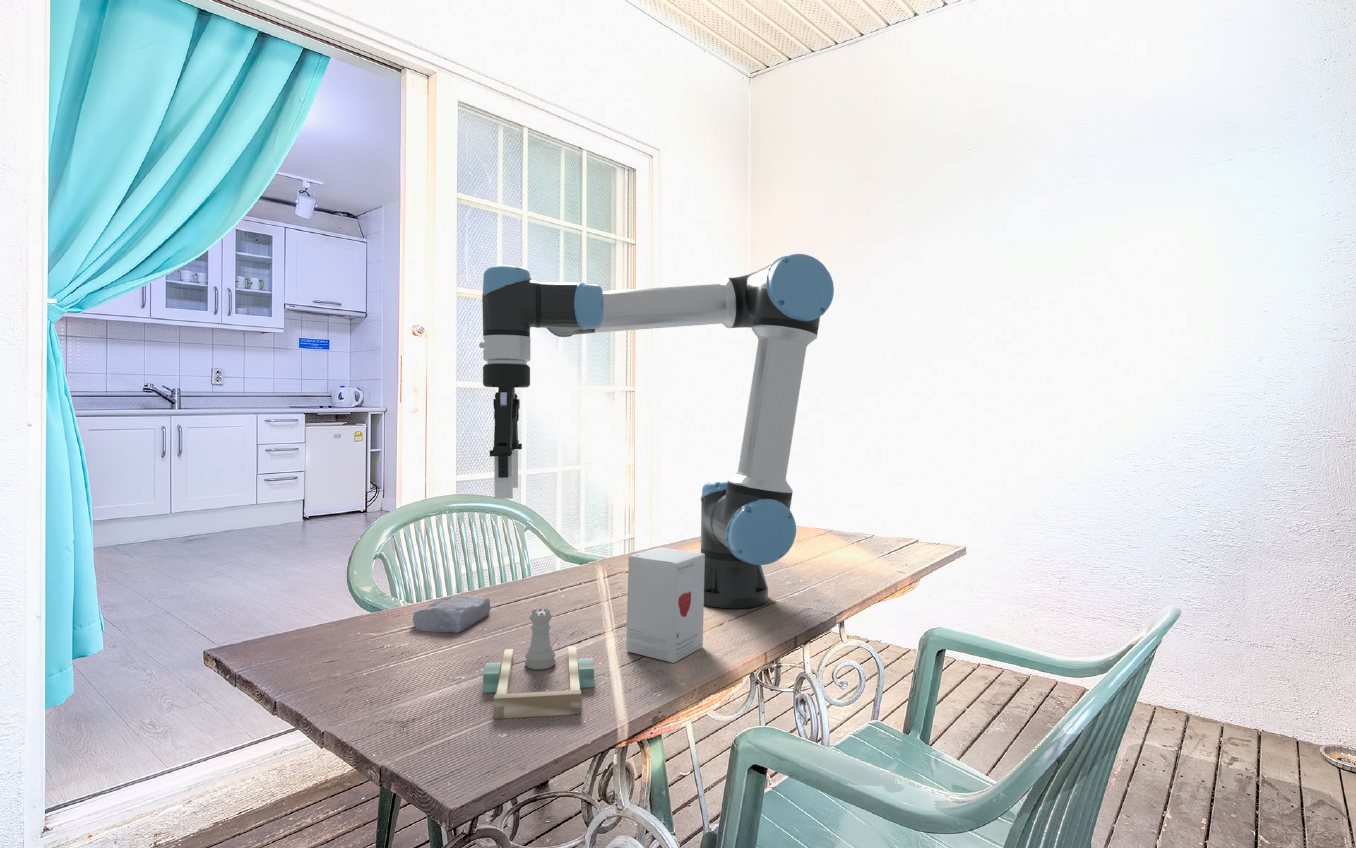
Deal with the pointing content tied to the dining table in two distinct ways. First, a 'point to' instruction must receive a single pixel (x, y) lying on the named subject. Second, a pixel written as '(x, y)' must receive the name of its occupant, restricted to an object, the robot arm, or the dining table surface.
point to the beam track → (537, 701)
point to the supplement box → (665, 603)
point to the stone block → (452, 614)
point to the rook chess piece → (540, 642)
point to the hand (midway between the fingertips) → (507, 492)
